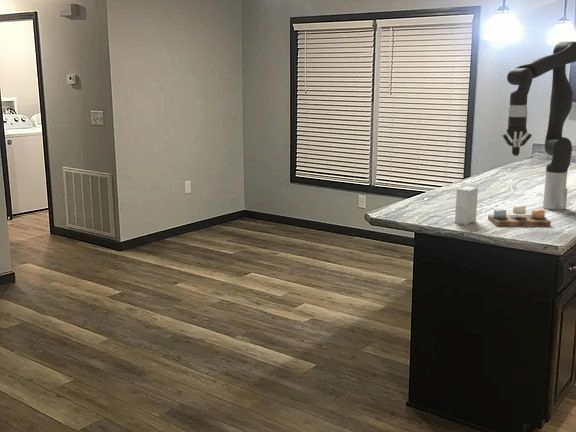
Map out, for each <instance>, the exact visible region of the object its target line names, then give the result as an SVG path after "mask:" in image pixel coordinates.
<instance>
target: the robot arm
mask: <svg viewBox="0 0 576 432" xmlns="http://www.w3.org/2000/svg"><path fill="white" fill-rule="evenodd" d="M573 63H576V41H559V42H557V43H556V44H555V45H554V48H553V51H552V53H551V54H549V55H545V56H542V57H539V58H536V59H535V60H533V61H530V62H528V63H525V64H521V65H519V66H516V67H514V68H513V67H512V69H511V70H509V72H507V75H506V80H507V82H508V83H509V84H510V85H512V86H518V87H517V90H514V91H512V92H511V93H510V95H509V108H508V120H507V121H508V122H507V129H506V132H505V133H502V134H501V138H502V139H503V141H505V143H506V144H507V145H508V146H510V147H512V148H511V154H512V156H515V157H518V156H519V155H520V149H521V147H522V146H525V145H526V144H527V143H528V141H529V140H530V139H531V137H532V134H531V133H529V132H528V129H527V123H528V119H527V118H528V95H529V91H530V89H531V87H532V83H533V79H535V78H538V77H541V76H542V75H544V74H546V73H549V72H551V71H552V80H551V81H552V82H551V94H550V101H549V102H550V104H549V116H548V126H547V130H546V135H545V138H544V139H545V141H544V151H545V153H546V154H547V155H549V156H551V157H552V158H551V162H550V163H548V164H547V165H546V166H545V178H544V179H545V180H544V190H543V192H544V193H543V202H542V207H543V208H544V209H547V210H557V211H558V210H559V211H561V210H566V209H567V201H568V200H567V199H568V188H567V183H568V182H567V179H568V169H569V167H570V165H571V160H572V151H573V144H572V142H571V140H570V139H569V138H568V137H564V136H563V130H564V129H563V128H564V124H565V121H566V120H567V118H568V116H569V115H570V112H571V110H572V108H573V99H574V98H573V97H574V92H573V88H572V86H571V84H570V82H569V79H568V77H567V74H566V72H567V69H566V68H567V65H569V64H573ZM509 137H510V139H509Z"/></svg>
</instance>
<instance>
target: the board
mask: <svg viewBox="0 0 576 432" xmlns="http://www.w3.org/2000/svg"><path fill="white" fill-rule="evenodd" d="M487 220H488V221H489V222H491V223H492V224H493V225H495V226H496V227H551V222H552V221H551V220H549V219H547V217H546V216H544V218H542V219H538V218H532V214H506V218H502V219H501V218H494V214H488V216H487Z"/></svg>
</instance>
